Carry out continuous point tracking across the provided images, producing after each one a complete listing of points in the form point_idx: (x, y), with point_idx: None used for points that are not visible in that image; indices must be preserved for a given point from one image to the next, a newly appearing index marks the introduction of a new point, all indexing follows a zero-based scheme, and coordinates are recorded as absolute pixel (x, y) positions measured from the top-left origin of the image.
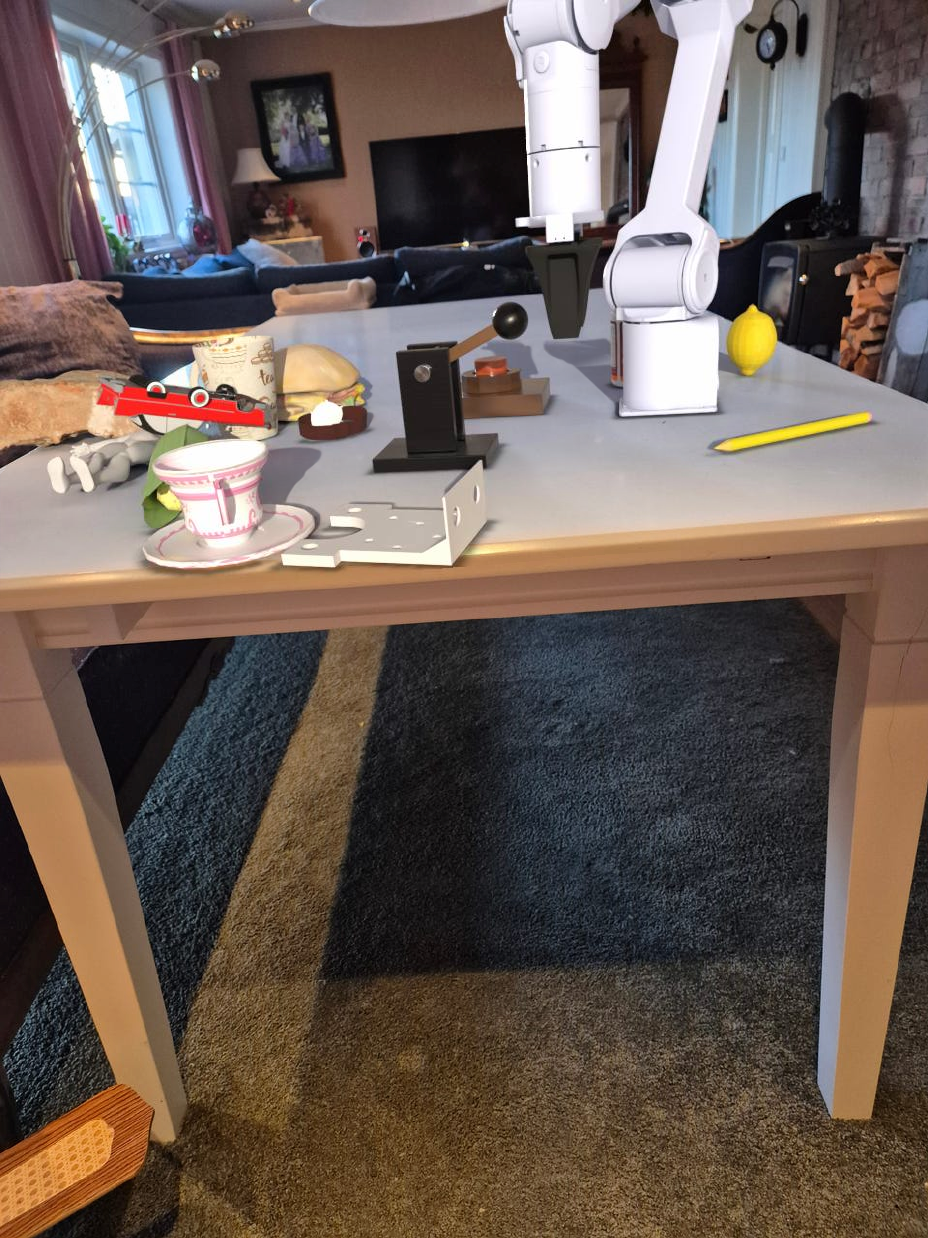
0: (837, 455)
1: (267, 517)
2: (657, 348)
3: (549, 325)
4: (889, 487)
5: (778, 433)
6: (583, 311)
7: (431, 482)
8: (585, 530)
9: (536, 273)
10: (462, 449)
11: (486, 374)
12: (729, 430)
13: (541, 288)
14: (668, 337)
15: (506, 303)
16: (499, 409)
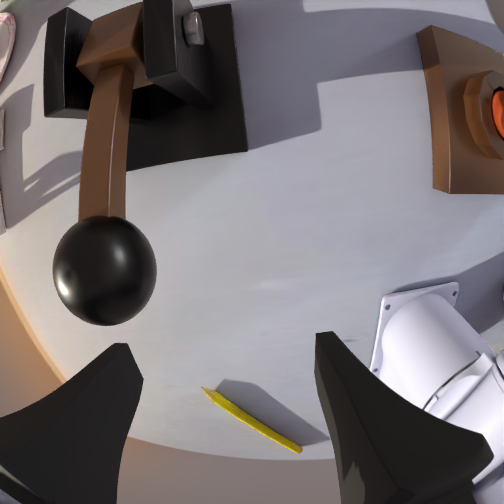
0: (205, 433)
1: (1, 56)
2: (410, 384)
3: (100, 354)
4: (140, 434)
5: (242, 421)
6: (319, 397)
7: (79, 126)
8: (19, 297)
9: (12, 413)
10: (146, 128)
11: (493, 107)
12: (295, 391)
13: (43, 398)
14: (412, 402)
15: (61, 290)
16: (436, 125)
